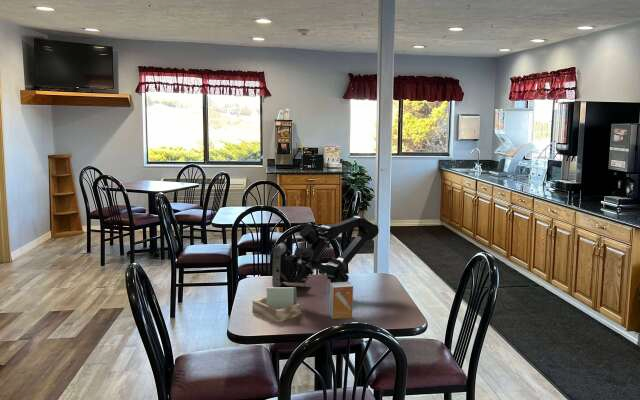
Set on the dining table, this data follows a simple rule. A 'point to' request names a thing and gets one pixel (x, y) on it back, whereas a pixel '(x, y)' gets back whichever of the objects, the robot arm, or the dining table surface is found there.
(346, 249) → the robot arm
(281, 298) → the door
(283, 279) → the vintage camera
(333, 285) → the small box
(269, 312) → the wooden tray
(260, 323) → the dining table surface
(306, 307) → the dining table surface
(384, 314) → the dining table surface
